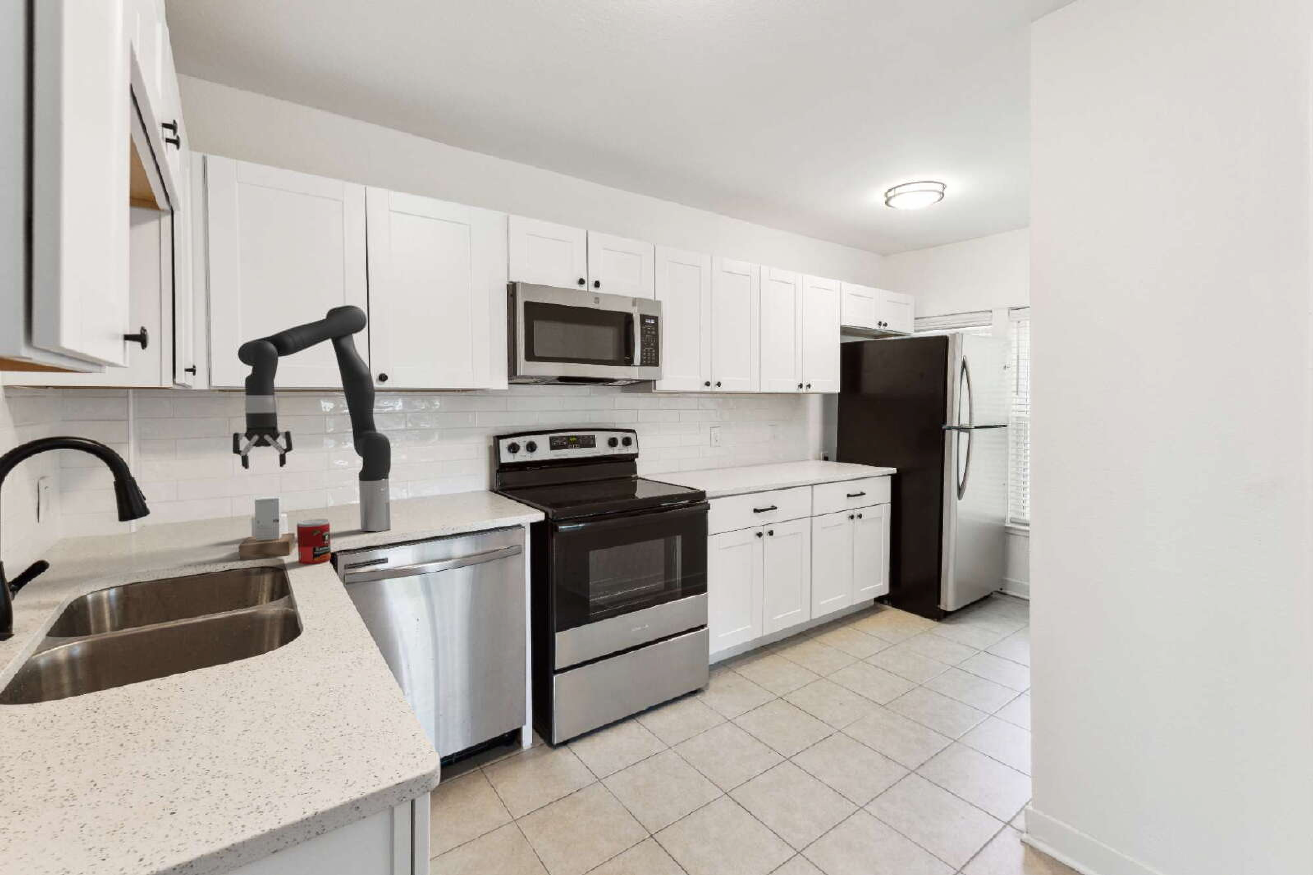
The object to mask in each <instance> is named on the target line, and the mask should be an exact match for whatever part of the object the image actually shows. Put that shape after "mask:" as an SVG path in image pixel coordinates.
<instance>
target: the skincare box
mask: <svg viewBox="0 0 1313 875" xmlns="http://www.w3.org/2000/svg"><path fill="white" fill-rule="evenodd" d="M254 510H255V511H254V514H255V515H254V517H255V528H256V541H261V540H275V539H280V538H281V536H282V528H281V514H282V497H281V496H278V495H277V496H259V497H258V496H257V497H256V498H255V499H254Z"/></svg>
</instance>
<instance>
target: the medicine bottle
mask: <svg viewBox="0 0 1313 875" xmlns="http://www.w3.org/2000/svg"><path fill="white" fill-rule="evenodd" d="M250 521H251V525H250V526H251V537H252V536H256V528H255V516H253V517H251V518H250ZM281 528H282V534H288V533H289V532H288V531H289V530H288V529H289V528H288V514H286V513H281Z"/></svg>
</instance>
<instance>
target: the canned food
mask: <svg viewBox="0 0 1313 875" xmlns="http://www.w3.org/2000/svg"><path fill="white" fill-rule="evenodd" d="M296 534H297V535H296V536H297V538H296V539H297V555H298V557H297V558H298V562H299V564H302V565H309V566H310V565H317V564H318V565H319V564H324V563H326V562H328V561H330V560H331V557H332V550H331V549H332V548H331V547H332V546H331V526H330V520H329V519H326V518H312V519H305V520H300V521H298V522H296Z"/></svg>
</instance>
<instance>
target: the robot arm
mask: <svg viewBox="0 0 1313 875" xmlns="http://www.w3.org/2000/svg"><path fill="white" fill-rule="evenodd" d="M366 315H367V314H366V313H365V312H364V311H363V309H362V308H360V307H359V306H356V305H351V304H349V305H342V306H336V307H333V308H331V309H329V310H328V311H327V312H326V316H325V318H323V319H320V320H315V321H313V322H308V323H305V324H300V325H297V326H293V327H290V328H287V329H285V330H281V331H279V332H277V333H274V334H272V335H268V336H264V337H259V338H257V339H256V338H255V339H253V340H250V341H247V342H245V343H243V344H242V345H241V346H240V347H239V348H238V350H237V357H238V359H239V361H240V362H241V363H242V364H244V365H245V366H248V367H252V368H251V373H250V374H249V375H247V376H246V377H245V378H244V391H245V400H244V401H245V402H244V413H245V426H246V429H245V432H237V431H236V432H233V433H232V453H233V454H234V455H239V456H240V458H241V467H242V468H244V469H245V470H248V469H250V462H249V459H250V458H249V455H248V453H249V452H250V451H251V450H252V449H253V447H254V448H255V447H256V448H261V447H264V448H269V447H272V448H274V449H275V450H276V451H277V452H278V453H279V454H278V459H279V468H283V467H284V466H286V464H287V456H286V454H287V453H289V452H292V451H293V448H294V447H293V441H292V440H293V439H292V432H291V431H290V430H286V431H279V427H278V412H277V410H278V409H277V408H278V407H277V400H276V392H275V379H276V374H277V370H278V364H279V358H281V357H289V356H291V355H294V354H297V353H299V352H302V351H304V350H307V349H309V348H311V347H314V346H316V345H318V344H320V343H323V342H325V341H328V340H331V343H332V347H333V349H334V353H335V356H336V362H337V365H338V369H339V373H340V378H341V385H342V389H343V393H344V397H345V400H346V407H347V409H348V413H349V417H350V423H351V428H352V429H351V430H352V440H353V447H354V450H355V452H356V453H357V456H359V457H360V458H362V467H361V470H360V471H359V473H358V490H359V491H358V492H359V515H360V516H359V517H360V521H359V522H360V525H359V526H360V531H361V532H363V531H376V532H383V531H388V530H389V529H390V530H392V528H391V504H390V502H391V501H390V482H389V480H390V478H389V477H390V476H389V475H390V471H391V466H392V464H391V463H392V460H391V459H392V458H391V457H392V452H391V451H392V450H391V443H390V439H389V438H388V437H387V436H386V435H385V434H383V433H382V432H381V433H380V432H378V430H377V428H376V424H375V419H374V407H375V399H376V393H375V392H376V389H375V385H374V380H373V376H372V373H371V371H370V368H369V367H368V366H367V364H366V362H365V361H364V360H363V358H362V356H360V354H359V353H358V351H357V348H356V345H355V341H354V336H353V335H355V334H358V333H360V332H361V331H363V330H364V329H365V328H366V326H367V316H366ZM280 436H281V437H282V439H284V440H285V446H286V447H285V448H284V447H283V446H282V445H281V443H280V442H278V441H277V440H278V439H279V437H280ZM244 437H245V439H246V440H247V441H248V443H247V444H246V446H244V448H243V449H241V441H242V440H243V438H244Z"/></svg>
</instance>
